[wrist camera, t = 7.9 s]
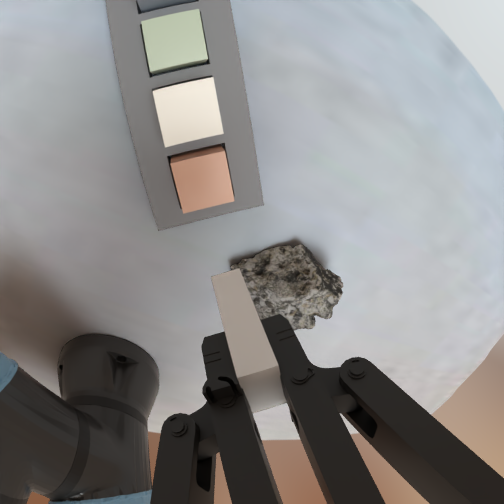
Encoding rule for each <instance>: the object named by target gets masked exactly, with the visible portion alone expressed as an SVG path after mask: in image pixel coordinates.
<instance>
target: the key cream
mask: <svg viewBox="0 0 504 504" xmlns="http://www.w3.org/2000/svg"><path fill="white" fill-rule="evenodd" d="M153 96H154V100H155V105H156V110H157V114H158V119H159V123H160V128H161V132H162V136H163V141H164V145H165V147H169V146H173V145H177V144H181V143H185V142H189V141H193V140H197V139H202V138H206V137H211V136H215V135H220V134H224V133H223V127H222V122H221V116H220V111H219V105H218V100H217V95H216V89H215V84H214V78H213V77H211V78H206V79H201V80H196V81H191V82H187V83H182V84H178V85H174V86H170V87H166V88H162V89H158V90H154V91H153Z"/></svg>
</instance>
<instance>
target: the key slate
mask: <svg viewBox="0 0 504 504" xmlns="http://www.w3.org/2000/svg"><path fill="white" fill-rule="evenodd" d="M193 1H195V0H137V3H138V5H139V7H140V9H141V11H142V13H143V12H146V11H150V10H154V9H158V8H163V7H167V6H172V5H177V4H182V3H187V2H193Z"/></svg>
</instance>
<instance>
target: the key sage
mask: <svg viewBox="0 0 504 504" xmlns="http://www.w3.org/2000/svg"><path fill="white" fill-rule="evenodd" d="M141 24H142V30H143V36H144V41H145V47H146V52H147V58H148V63H149V68H150V72H151V73H152V74H154V75H156V74H160V73H164V72H168V71H173V70H177V69H181V68H186V67H191V66H195V65H200V64H204V63H205V62H206V61H207V60H208V56H207V50H206V45H205V39H204V34H203V28H202V22H201V17H200V11H199V9H195V10H189V11H184V12H179V13H174V14H169V15H165V16H161V17H156V18H152V19H148V20H145V21H141Z"/></svg>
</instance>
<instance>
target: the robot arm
mask: <svg viewBox="0 0 504 504" xmlns="http://www.w3.org/2000/svg"><path fill="white" fill-rule="evenodd" d="M211 278H212V283H213V287H214V291H215V295H216V299H217V303H218V307H219V311H220V315H221V319H222V323H223V327H224V331H225V332H222V333H218V334H215V335H211V336H208V337H204V340H203V344H202V353H203V357H204V358H203V359H204V364H205V370H206V375H207V381H206V382H205V384H204V386H203V392H202V393H203V395H204V397H205V398H206V400H207V402H206V404H205V405H204V406H203V407H202V408H200V409H199V410H197V411H196V412H194V413H192V414H190V415H187V414H182V413H179V414H174V415H172V416H170V417H168V418H167V419H166V421H165V422H164V424H163V426H162V430H161V436H160V442H159V448H158V454H157V460H156V467H155V473H154V479H153V486H152V482H151V471H150V460H149V447H148V430H147V420H148V417H149V415H150V412H151V409H152V407H153V404H154V401H155V399H156V396H157V394H158V390H159V371H158V368H157V365H156V363H155V362H154V360H153V359H152V358H151V357H150V356H149V355H148V354H147V353H146V352H145V351H144V350H142V349H141V348H139V347H138V346H136V345H134V344H132V343H130V342H128V341H126V340H123V339H120V338H117V337H113V336H107V335H84V336H80V337H77V338H75V339H73V340H71V341H69V342H68V343H67V344H66V345H65V346H64V347H63V349H62V351H61V354H60V358H59V361H58V368H57V371H58V379H59V387H60V394H61V398H60V397H59V396H57V395H56V394H54V393H53V392H52V391H50V390H49V389H47V388H46V387H45V386H43V385H42V384H41V383H39V382H38V381H37V380H35V379H34V378H33V377H31V376H30V375H29V374H28V373H26V372H25V371H24V370H23V369H21V368H20V367H19V366H18V363H16V362H15V361H14V360H12V359H9V358H8V357H6V356H5V355H4V354H3V353H1V352H0V504H26V503H27V501H28V498H29V496H30V493H31V492H32V491H33V492H35V493H38V494H40V495H43V496H45V497H47V498H49V499H50V501H49V503H48V504H214V485H215V467H216V454H217V453H218V452H220V457H221V461H222V465H223V469H224V473H225V477H226V482H227V485H228V489H229V493H230V497H231V500H232V504H283V502H282V500H281V497H280V494H279V491H278V488H277V485H276V482H275V480H274V477H273V474H272V471H271V468H270V465H269V462H268V459H267V456H266V453H265V450H264V447H263V444H262V440H261V437H260V434H259V431H258V428H257V425H256V423H255V420H254V417H253V414H252V413H256V412H259V411H262V410H266V409H269V408H272V407H275V406H278V405H281V404H284V403H287V404H288V406H289V409H290V414H291V419H292V422H293V421H294V424H295V426H296V429H297V431H298V434H299V436H300V439H301V441H302V444H303V446H304V449H305V451H306V454H307V456H308V459H309V461H310V463H311V466H312V468H313V470H314V473H315V476H316V478H317V480H318V483H319V485H320V487H321V490H322V492H323V495H324V497H325V499H326V502H327V504H385V502H384V500H383V498H382V496H381V494H380V492H379V490H378V488H377V486H376V484H375V482H374V480H373V478H372V476H371V474H370V472H369V470H368V468H367V467H366V465H365V463H364V461H363V459H362V457H361V455H360V453H359V451H358V449H357V447H356V445H355V443H354V441H353V439H352V437H351V435H350V433H349V431H348V429H347V427H346V425H345V423H344V422H343V420H342V418H341V416H340V414H339V413H341V414H342V415H343V416H344V417H345V418H346V419H347V420H348V421H349V422H350V423H351V424H352V425H353V426H354V428H355V429H356V430H357V431H358V432H359V433H360V434H361V435H362V436H363V437H364V438H365V439H366V440H367V441H368V442H369V443H370V444H371V445H372V446H373V447H374V448H375V449H376V451H378V453H379V454H380V455H381V456H382V457H383V458H384V459H385V460H386V461H387V462H388V463H389V464H390V465H391V466H392V467H393V468H394V469H395V470H396V471H397V472H398V473H399V474H400V475H401V476H402V477H403V478H404V479H405V480H406V481H407V482H408V483H409V484H410V485H411V486H412V487H413V488H414V489H415V490H416V491H417V492H418V493H419V494H421V496H422V497H423V498H424V499H426V500H427V501H428V502H429V503H430V504H504V478H503V477H501V476H500V475H499V474H498V473H497V472H496V471H495V470H493V469H492V468H491V467H490V466H489V465H487V464H486V463H485V462H484V461H483V460H482V459H481V458H480V457H478V456H477V455H476V454H475V453H474V452H473V451H472V450H470V449H469V448H468V447H467V446H466V445H465V444H463V443H462V442H461V441H460V440H459V439H458V438H457V437H456V436H454V435H453V434H452V433H451V432H450V431H449V430H448V429H446V428H445V427H444V426H443V425H442V424H441V423H440V422H438V421H437V420H436V419H435V418H434V417H433V416H431V415H430V414H429V413H428V412H427V411H426V410H425V409H424V408H422V407H421V406H420V405H419V404H418V403H417V402H416V401H414V400H413V399H412V398H411V397H410V396H409V395H408V394H406V393H405V392H404V391H403V390H402V389H401V388H400V387H399V386H397V385H396V384H395V383H394V382H393V381H392V380H391V379H389V378H388V377H387V376H386V375H385V374H384V373H383V372H381V371H380V370H379V369H378V368H377V367H376V366H375V365H373V364H372V363H371V362H370V361H368V360H367V359H365V358H360V357H355V358H350V359H348V360H346V361H345V362H344V363H343V364H342V365H341V367H337V368H320V367H317V366H315V365H313V364H312V363H311V362H310V361H309V360H308V358H307V356H306V354H305V352H304V350H303V348H302V346H301V344H300V342H299V340H298V338H297V337H296V335H295V333H294V331H293V329H292V327H291V325H290V323H289V321H288V319H286V318H285V317H284V316H282V315H281V314H278V315H274V316H271V317H268V318H265V319H262V320H260V319H259V316H258V314H257V311H256V309H255V306H254V304H253V301H252V299H251V296H250V294H249V291H248V289H247V286H246V284H245V281H244V279H243V276H242V274H241V271H240V269H235V270H232V271H228V272H225V273H222V274H218V275H215V276H212V277H211Z"/></svg>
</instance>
